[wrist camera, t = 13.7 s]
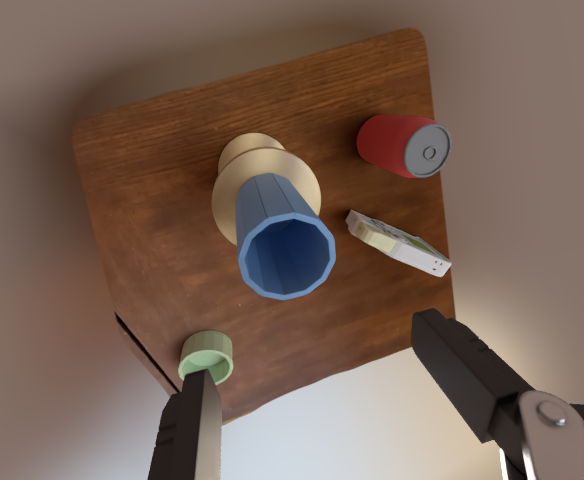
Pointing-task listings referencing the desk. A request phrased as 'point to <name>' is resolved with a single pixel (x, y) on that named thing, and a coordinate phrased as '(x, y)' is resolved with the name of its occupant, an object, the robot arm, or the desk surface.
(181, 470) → the robot arm
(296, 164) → the stand
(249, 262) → the blue cup
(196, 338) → the green cup
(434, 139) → the beer can
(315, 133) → the desk surface
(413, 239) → the handheld gaming console
